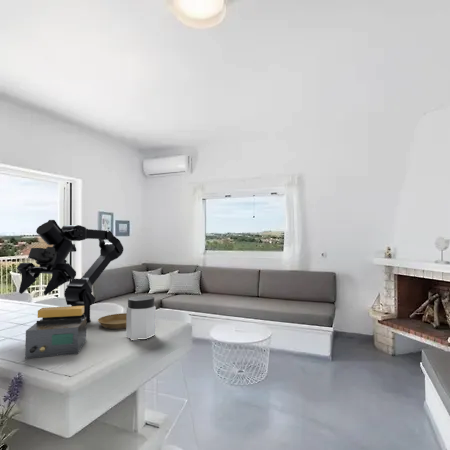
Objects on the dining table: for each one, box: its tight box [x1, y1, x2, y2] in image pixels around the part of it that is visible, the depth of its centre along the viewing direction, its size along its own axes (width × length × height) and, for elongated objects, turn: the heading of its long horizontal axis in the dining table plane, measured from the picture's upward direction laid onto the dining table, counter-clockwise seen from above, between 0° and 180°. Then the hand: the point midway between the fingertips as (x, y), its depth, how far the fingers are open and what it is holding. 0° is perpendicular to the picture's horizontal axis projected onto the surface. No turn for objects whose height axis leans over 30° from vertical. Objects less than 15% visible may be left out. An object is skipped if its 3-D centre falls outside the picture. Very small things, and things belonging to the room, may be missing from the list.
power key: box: [37, 305, 84, 319], centre depth 91 cm, size 4×11×2 cm, turn 104°
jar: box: [125, 295, 157, 340], centre depth 99 cm, size 9×8×12 cm
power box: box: [24, 314, 87, 359], centre depth 88 cm, size 13×12×8 cm
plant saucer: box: [97, 312, 127, 330], centre depth 113 cm, size 15×15×3 cm
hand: (32, 293), depth 97 cm, fingers open, 9 cm apart
